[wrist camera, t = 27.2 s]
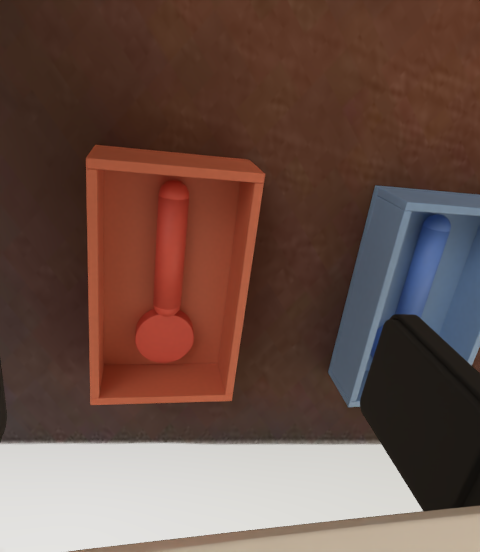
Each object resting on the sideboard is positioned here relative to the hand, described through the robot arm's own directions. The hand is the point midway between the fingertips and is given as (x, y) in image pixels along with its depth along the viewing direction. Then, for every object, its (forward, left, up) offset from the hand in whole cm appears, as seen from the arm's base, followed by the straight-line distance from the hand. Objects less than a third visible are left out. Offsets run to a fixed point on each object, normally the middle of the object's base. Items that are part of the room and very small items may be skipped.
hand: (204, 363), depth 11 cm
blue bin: (+20, -8, -21) cm, 31 cm away
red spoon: (0, -7, -21) cm, 22 cm away
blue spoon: (+20, -8, -21) cm, 30 cm away
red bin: (0, -7, -21) cm, 22 cm away
